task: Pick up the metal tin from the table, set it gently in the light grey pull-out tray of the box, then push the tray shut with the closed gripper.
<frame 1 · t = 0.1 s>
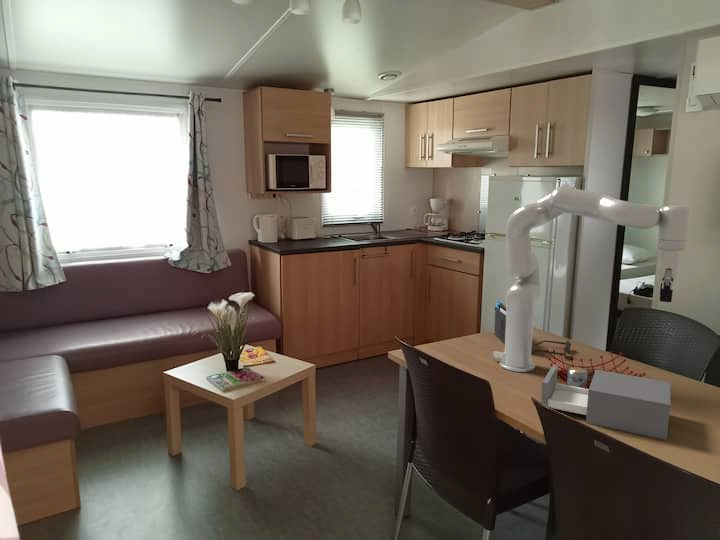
hand: (665, 298, 166), 31 cm above the table, tool pointing down, fingers open, 9 cm apart
tin: (576, 387, 175), on the table
eyeglasses: (548, 353, 210), on the table
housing: (626, 418, 152), on the table
game console: (509, 342, 223), on the table
tray: (579, 391, 158), point 5 cm above the table, slide at 11.0 cm
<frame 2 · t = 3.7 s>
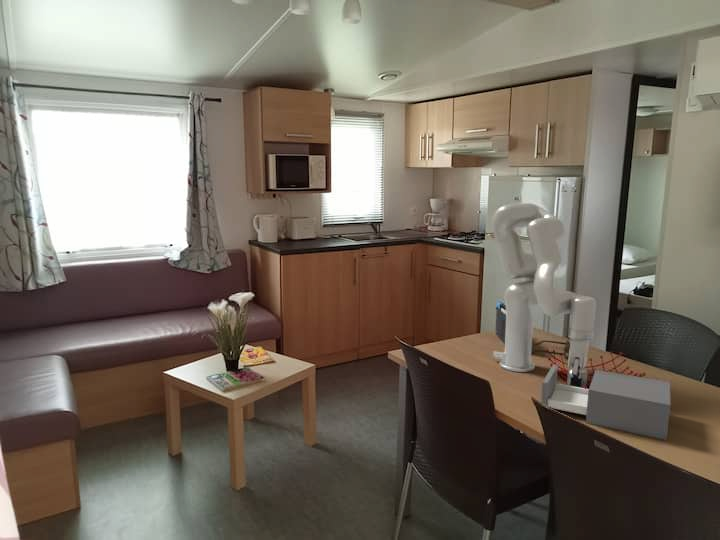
hand: (576, 384, 174), 1 cm above the table, tool pointing down, fingers closed on tin, 6 cm apart
tin: (576, 387, 175), on the table, touching gripper
everything else where it was.
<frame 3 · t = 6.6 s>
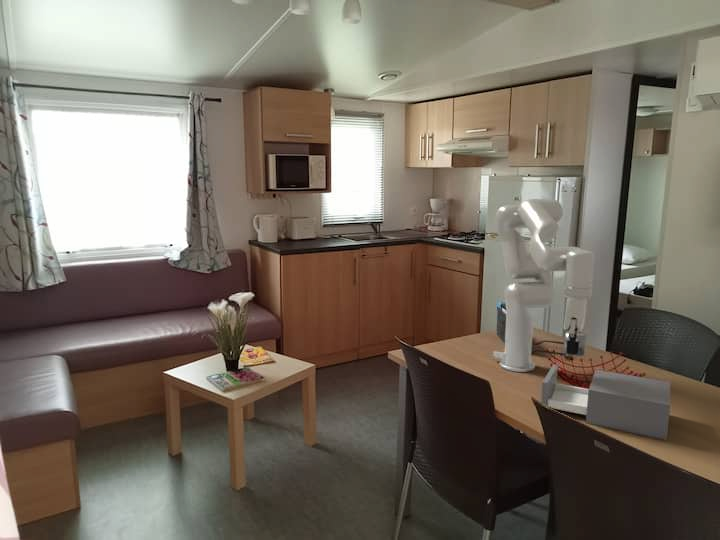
hand: (573, 350, 157), 18 cm above the table, tool pointing down, fingers closed on tin, 6 cm apart
tin: (573, 352, 157), point 17 cm above the table, touching gripper
everything else where it was.
when the fingers open (4 cm above the table, at t = 9.8 s): tin stays where it is, resting on tray.
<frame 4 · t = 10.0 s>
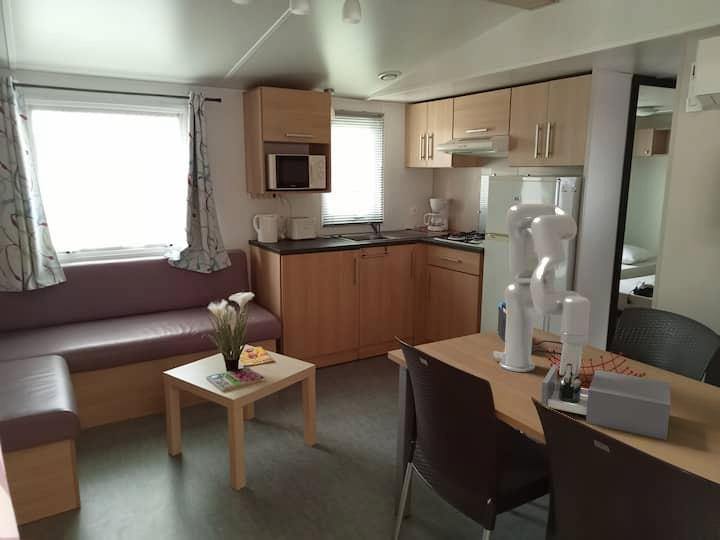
hand: (569, 392, 159), 5 cm above the table, tool pointing down, fingers open, 8 cm apart
tin: (569, 399, 160), point 2 cm above the table, touching tray
tray: (579, 391, 158), point 5 cm above the table, slide at 11.0 cm, touching tin
everything else where it was.
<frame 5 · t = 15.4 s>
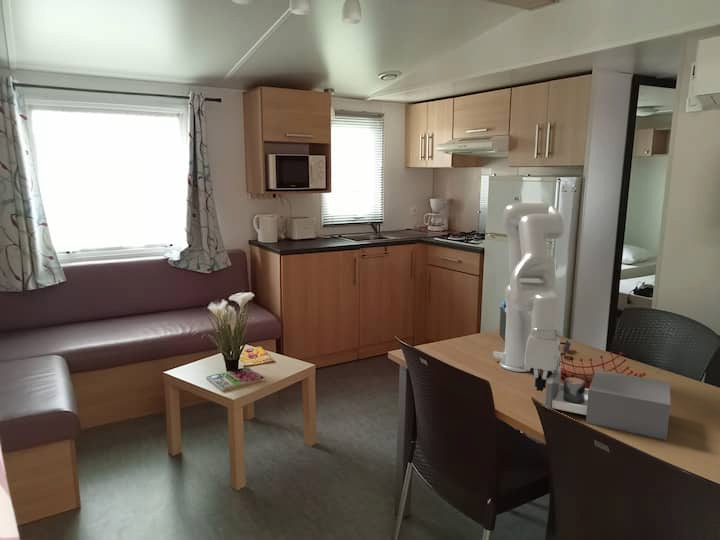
hand: (540, 389, 164), 4 cm above the table, tool pointing down, fingers closed
tin: (573, 399, 159), point 2 cm above the table, touching tray
tray: (583, 392, 157), point 5 cm above the table, slide at 9.8 cm, touching gripper, tin
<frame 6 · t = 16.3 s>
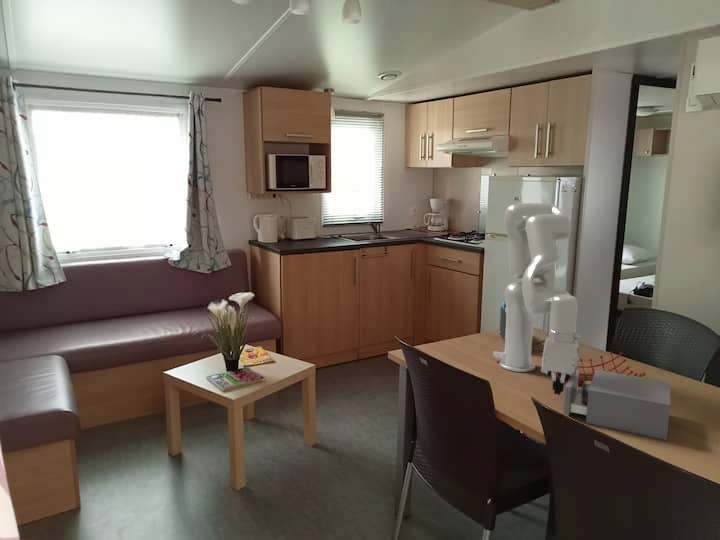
hand: (557, 392, 161), 4 cm above the table, tool pointing down, fingers closed
tin: (592, 403, 157), point 2 cm above the table, touching tray
tray: (602, 396, 155), point 5 cm above the table, slide at 4.5 cm, touching gripper, tin
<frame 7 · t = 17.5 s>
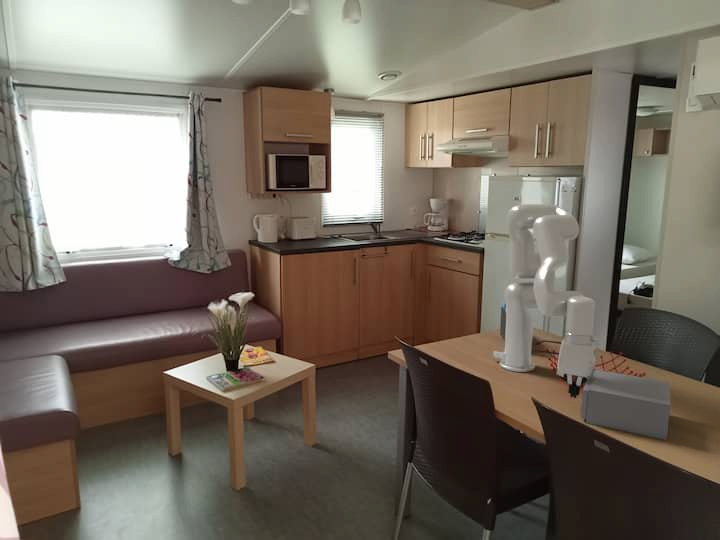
hand: (573, 395, 159), 4 cm above the table, tool pointing down, fingers closed
tin: (609, 406, 154), point 2 cm above the table, touching tray
tray: (619, 399, 152), point 5 cm above the table, slide at -0.1 cm, touching gripper, tin
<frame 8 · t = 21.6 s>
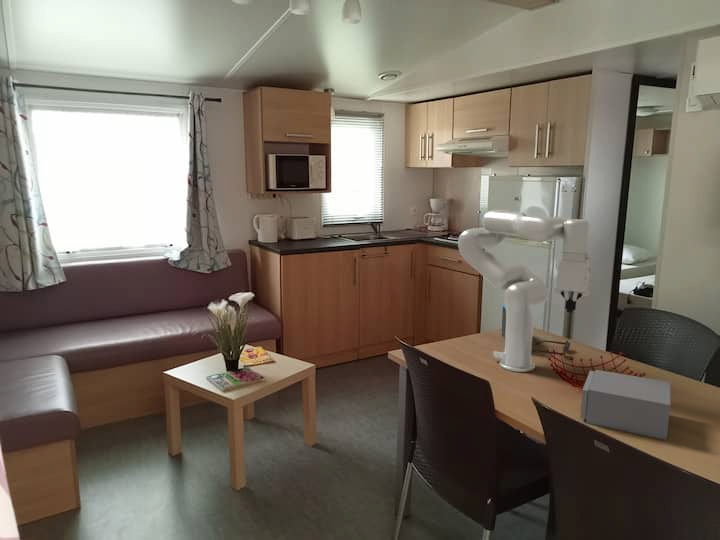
hand: (570, 311, 174), 25 cm above the table, tool pointing down, fingers closed
tray: (619, 399, 152), point 5 cm above the table, slide at 0.0 cm, touching tin
at the end: tray slide at 0.0 cm; tin inside the target area on the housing (4.4 cm from its centre), point 2.4 cm above the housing's base; tin tilted 2° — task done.
